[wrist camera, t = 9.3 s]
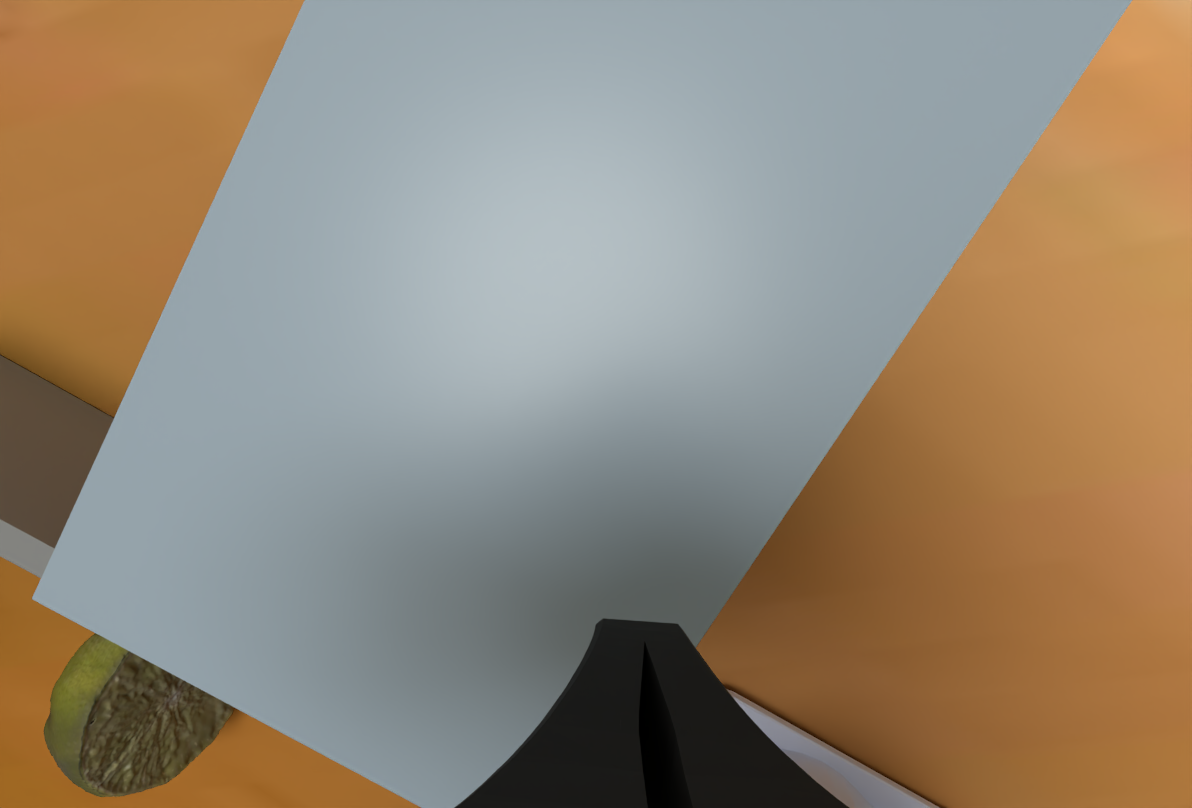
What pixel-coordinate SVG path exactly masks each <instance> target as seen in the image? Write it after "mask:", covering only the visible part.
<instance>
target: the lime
mask: <svg viewBox="0 0 1192 808" xmlns="http://www.w3.org/2000/svg"><path fill="white" fill-rule="evenodd" d="M50 702H51V708H50V715H49V717H48V719H47V721H46V724H45V727H44V737H45V741H46V744H47V747H48V749H49V750H50V753H51V755H52V756H53V757H54V760H55V761H56V762H57V765H58V767H59V768H61V770H62V772H63V773H64V774H65V776H67V777H68V778H69V779H70V780H71V781H72V782H73V783H74V784H76V785H77V786H78V787H81V788H82V789H84V790H85V791H86V792H89V793H91V794H94V795H96V796H99V797H106V796H107V797H112V796H115V797H116V796H124V795H129V794H132V793H136V792H142V791H144V790H146V789H150V788H154V787H156V786H159V785H163V784H166V783H167V782H169V781H170V780H171V779H172V778H174V777H176V776H177V775H178V774H180V772H181V771H183V770H184V769H185V768H186V767H187V766H188V764H189V763H190V762H192V761H193V760H194V759H195V758H196V757H197V756H198V755H199V754H200V753H201V752H202V751H203V750H204V749H205V748H206V747H207V746H209V745H210V744H211V743H212V742H213V741H214V739H215V738H216V736H217V735H218V734H219V731H220V729H221V728H222V727H223V726H224V724H225V722H226V721H227V720H228V719H229V717H230V716H231V714H232V713H233V708H234V707H233V706H231V705H229V704H227V703H225V702H223V701H222V700H220V699H218V698H216V697H214V696H212V695H210V694H208V693H207V692H205V691H203V690H201V689H199V688H197V687H195V686H193V685H192V684H190V683H188V682H186V681H184V680H182V679H180V678H179V677H177V676H175V675H173V674H171V673H169V672H167V671H165V670H164V669H162V668H160V667H158V666H156V665H154V664H152V663H150V662H149V661H147V660H145V659H143V658H141V657H139V656H137V655H136V654H134V653H132V652H130V651H128V650H126V649H124V648H122V647H121V646H119V645H117V644H115V643H113V642H111V641H109V640H108V639H106V638H104V637H102V636H100V635H98V634H96V633H95V634H94V635H92V636H91V637H90V638H89V639H88V640H87V641H85V642H84V644H83V645H82V646H81V647H80V648H79V649H78V650H77V652H76V653H75V654H74V656H73V657H72V658H71V660H70V661H69V662H68V664H67V666H66V667H65V669H64V671H63V673H62V675H61V676H60V678H59V679H58V680H57V682H56V684H55V686H54V688H53V691H52V695H51V700H50Z"/></svg>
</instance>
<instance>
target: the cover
mask: <svg viewBox="0 0 1192 808" xmlns="http://www.w3.org/2000/svg"><path fill="white" fill-rule="evenodd" d="M1131 1H1132V0H305V1H304V3H303V5H302V7H301V10H300V12H299V14H298V16H297V18H296V21H295V23H294V25H293V27H292V29H291V32H290V34H289V36H288V38H287V40H286V43H285V45H284V47H283V49H282V51H281V54H280V56H279V58H278V60H277V62H276V64H275V67H274V69H273V71H272V73H271V75H270V78H269V80H268V82H267V84H266V86H265V89H264V91H263V93H262V95H261V97H260V100H259V102H258V104H257V106H256V108H255V111H254V113H253V115H252V117H251V119H250V122H249V124H248V126H247V128H246V130H245V132H244V135H243V137H242V139H241V141H240V143H239V146H238V148H237V150H236V152H235V154H234V157H233V159H232V161H231V163H230V165H229V168H228V170H227V172H226V174H225V176H224V179H223V181H222V183H221V185H220V187H219V189H218V192H217V194H216V196H215V198H214V200H213V203H212V205H211V207H210V209H209V211H208V214H207V216H206V218H205V220H204V222H203V225H202V227H201V229H200V231H199V233H198V236H197V238H196V240H195V242H194V244H193V247H192V249H191V251H190V253H189V255H188V257H187V260H186V262H185V264H184V266H183V268H182V271H181V273H180V275H179V277H178V279H177V282H176V284H175V286H174V288H173V290H172V293H171V295H170V297H169V299H168V301H167V304H166V306H165V308H164V310H163V312H162V314H161V317H160V319H159V321H158V323H157V325H156V328H155V330H154V332H153V334H152V336H151V339H150V341H149V343H148V345H147V347H146V350H145V352H144V354H143V356H142V358H141V361H140V363H139V365H138V367H137V369H136V372H135V374H134V376H133V378H132V380H131V382H130V385H129V387H128V389H127V391H126V393H125V396H124V398H123V400H122V402H121V404H120V407H119V409H118V411H117V413H116V415H115V418H114V420H113V422H112V424H111V426H110V429H109V431H108V433H107V435H106V437H105V440H104V442H103V444H102V446H101V448H100V450H99V453H98V455H97V457H96V459H95V461H94V464H93V466H92V468H91V470H90V472H89V475H88V477H87V479H86V481H85V483H84V486H83V488H82V490H81V492H80V494H79V497H78V499H77V501H76V503H75V505H74V507H73V510H72V512H71V514H70V516H69V518H68V521H67V523H66V525H65V527H64V529H63V532H62V534H61V536H60V538H59V540H58V543H57V545H56V547H55V549H54V551H53V554H52V556H51V558H50V560H49V562H48V565H47V567H46V569H45V571H44V573H43V575H42V578H41V580H40V582H39V584H38V586H37V589H36V591H35V593H34V595H33V597H32V599H33V600H35V601H36V602H38V603H40V604H42V605H44V606H46V607H48V608H50V609H51V610H53V611H55V612H57V613H59V614H61V615H63V616H65V617H66V618H68V619H70V620H72V621H74V622H76V623H78V624H79V625H81V626H83V627H85V628H87V629H89V630H91V631H93V632H94V633H96V634H98V635H100V636H102V637H104V638H106V639H108V640H109V641H111V642H113V643H115V644H117V645H119V646H121V647H122V648H124V649H126V650H128V651H130V652H132V653H134V654H136V655H137V656H139V657H141V658H143V659H145V660H147V661H149V662H150V663H152V664H154V665H156V666H158V667H160V668H162V669H164V670H165V671H167V672H169V673H171V674H173V675H175V676H177V677H179V678H180V679H182V680H184V681H186V682H188V683H190V684H192V685H193V686H195V687H197V688H199V689H201V690H203V691H205V692H207V693H208V694H210V695H212V696H214V697H216V698H218V699H220V700H222V701H223V702H225V703H227V704H229V705H231V706H233V707H235V708H236V709H238V710H240V711H242V712H244V713H246V714H248V715H250V716H251V717H253V718H255V719H257V720H259V721H261V722H263V723H264V724H266V725H268V726H270V727H272V728H274V729H276V730H278V731H279V732H281V733H283V734H285V735H287V736H289V737H291V738H293V739H294V740H296V741H298V742H300V743H302V744H304V745H306V746H307V747H309V748H311V749H313V750H315V751H317V752H319V753H321V754H322V755H324V756H326V757H328V758H330V759H332V760H334V761H336V762H337V763H339V764H341V765H343V766H345V767H347V768H349V769H350V770H352V771H354V772H356V773H358V774H360V775H362V776H364V777H365V778H367V779H369V780H371V781H373V782H375V783H377V784H378V785H380V786H382V787H384V788H386V789H388V790H390V791H392V792H393V793H395V794H397V795H399V796H401V797H403V798H405V799H407V800H408V801H410V802H412V803H414V804H416V805H418V806H420V807H421V808H454V807H456V806H457V805H458V804H459V803H461V802H462V801H463V800H464V799H466V798H467V797H468V796H469V795H470V794H472V793H473V792H474V791H475V790H476V789H477V788H478V787H480V786H481V785H482V784H483V783H484V782H485V781H486V780H487V779H488V778H489V777H490V776H491V775H492V774H493V773H494V772H495V771H496V770H497V769H498V768H499V767H501V766H502V765H503V764H504V763H505V762H506V761H507V760H508V759H509V758H510V757H511V756H512V754H513V753H514V752H515V751H516V750H517V749H518V748H519V747H520V746H521V745H522V744H523V743H524V741H525V740H526V739H527V738H528V737H529V736H530V734H531V733H532V732H533V731H534V730H535V728H536V727H537V726H538V725H539V724H540V722H541V721H542V720H543V718H544V717H545V716H546V714H547V713H548V712H549V710H550V709H551V707H552V706H553V705H554V703H555V702H556V700H557V699H558V698H559V696H560V695H561V693H562V692H563V691H564V689H565V688H566V686H567V684H568V683H569V681H570V679H571V678H572V676H573V674H574V673H575V671H576V669H577V668H578V666H579V664H580V662H581V661H582V659H583V657H584V655H585V653H586V651H587V649H588V647H589V644H590V642H591V640H592V637H593V634H594V631H595V625H596V624H597V623H598V622H599V621H600V620H602V619H603V618H605V619H619V620H633V621H647V622H661V623H675V624H679V626H680V627H681V628H682V629H683V631H684V632H685V633H686V635H687V636H688V638H689V639H690V641H691V642H692V644H693V645H694V646H695V648H696V646H697V645H698V643H699V642H700V640H701V639H702V638H703V636H704V635H705V633H706V632H707V630H708V629H709V627H710V626H711V624H712V623H713V621H714V620H715V618H716V617H717V615H718V614H719V612H720V611H721V609H722V608H723V606H724V605H725V603H726V602H727V600H728V599H729V597H730V596H731V594H732V593H733V592H734V590H735V589H736V587H737V586H738V584H739V583H740V581H741V580H742V578H743V577H744V575H745V574H746V572H747V571H748V569H749V568H750V566H751V565H752V563H753V562H754V560H755V559H756V557H757V556H758V554H759V553H760V551H761V550H762V549H763V547H764V546H765V544H766V543H767V541H768V540H769V538H770V537H771V535H772V534H773V532H774V531H775V529H776V528H777V526H778V525H779V523H780V522H781V520H782V519H783V517H784V516H785V514H786V513H787V511H788V510H789V508H790V507H791V505H792V504H793V503H794V501H795V500H796V498H797V497H798V495H799V494H800V492H801V491H802V489H803V488H804V486H805V485H806V483H807V482H808V480H809V479H810V477H811V476H812V474H813V473H814V471H815V470H816V468H817V467H818V465H819V464H820V462H821V461H822V460H823V458H824V457H825V455H826V454H827V452H828V451H829V449H830V448H831V446H832V445H833V443H834V442H835V440H836V439H837V437H838V436H839V434H840V433H841V431H842V430H843V428H844V427H845V425H846V424H847V422H848V421H849V419H850V418H851V416H852V415H853V414H854V412H855V411H856V409H857V408H858V406H859V405H860V403H861V402H862V400H863V399H864V397H865V396H866V394H867V393H868V391H869V390H870V388H871V387H872V385H873V384H874V382H875V381H876V379H877V378H878V376H879V375H880V373H881V372H882V370H883V369H884V368H885V366H886V365H887V363H888V362H889V360H890V359H891V357H892V356H893V354H894V353H895V351H896V350H897V348H898V347H899V345H900V344H901V342H902V341H903V339H904V338H905V336H906V335H907V333H908V332H909V330H910V329H911V327H912V326H913V325H914V323H915V322H916V320H917V319H918V317H919V316H920V314H921V313H922V311H923V310H924V308H925V307H926V305H927V304H928V302H929V301H930V299H931V298H932V296H933V295H934V293H935V292H936V290H937V289H938V287H939V286H940V284H941V283H942V281H943V280H944V279H945V277H946V276H947V274H948V273H949V271H950V270H951V268H952V267H953V265H954V264H955V262H956V261H957V259H958V258H959V256H960V255H961V253H962V252H963V250H964V249H965V247H966V246H967V244H968V243H969V241H970V240H971V238H972V237H973V236H974V234H975V233H976V231H977V230H978V228H979V227H980V225H981V224H982V222H983V221H984V219H985V218H986V216H987V215H988V213H989V212H990V210H991V209H992V207H993V206H994V204H995V203H996V201H997V200H998V198H999V197H1000V195H1001V194H1002V192H1003V191H1004V190H1005V188H1006V187H1007V185H1008V184H1009V182H1010V181H1011V179H1012V178H1013V176H1014V175H1015V173H1016V172H1017V170H1018V169H1019V167H1020V166H1021V164H1022V163H1023V161H1024V160H1025V158H1026V157H1027V155H1028V154H1029V152H1030V151H1031V149H1032V148H1033V147H1034V145H1035V144H1036V142H1037V141H1038V139H1039V138H1040V136H1041V135H1042V133H1043V132H1044V130H1045V129H1046V127H1047V126H1048V124H1049V123H1050V121H1051V120H1052V118H1053V117H1054V115H1055V114H1056V112H1057V111H1058V109H1059V108H1060V106H1061V105H1062V103H1063V102H1064V101H1065V99H1066V98H1067V96H1068V95H1069V93H1070V92H1071V90H1072V89H1073V87H1074V86H1075V84H1076V83H1077V81H1078V80H1079V78H1080V77H1081V75H1082V74H1083V72H1084V71H1085V69H1086V68H1087V66H1088V65H1089V63H1090V62H1091V60H1092V59H1093V58H1094V56H1095V55H1096V53H1097V52H1098V50H1099V49H1100V47H1101V46H1102V44H1103V43H1104V41H1105V40H1106V38H1107V37H1108V35H1109V34H1110V32H1111V31H1112V29H1113V28H1114V26H1115V25H1116V23H1117V22H1118V20H1119V19H1120V17H1121V16H1122V14H1123V13H1124V12H1125V10H1126V9H1127V7H1128V6H1129V4H1130V3H1131Z"/></svg>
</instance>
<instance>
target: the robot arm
mask: <svg viewBox="0 0 1192 808" xmlns="http://www.w3.org/2000/svg"><path fill="white" fill-rule="evenodd" d="M454 808H939V807H938V806H936V805H934V804H932V803H931V802H929V801H927V800H925V799H924V798H922V797H920V796H918V795H916V794H915V793H913V792H911V791H909V790H908V789H906V788H904V787H902V786H900V785H899V784H897V783H895V782H893V781H892V780H890V779H888V778H886V777H884V776H883V775H881V774H879V773H877V772H876V771H874V770H872V769H870V768H868V767H867V766H865V765H863V764H861V763H860V762H858V761H856V760H854V759H852V758H851V757H849V756H847V755H845V754H844V753H842V752H840V751H838V750H836V749H835V748H833V747H831V746H829V745H828V744H826V743H824V742H822V741H820V740H819V739H817V738H815V737H813V736H812V735H810V734H808V733H806V732H804V731H803V730H801V729H799V728H797V727H796V726H794V725H792V724H790V723H788V722H787V721H785V720H783V719H781V718H780V717H778V716H776V715H774V714H772V713H771V712H769V711H767V710H765V709H764V708H762V707H760V706H758V705H756V704H755V703H753V702H751V701H749V700H748V699H746V698H744V697H742V696H740V695H739V694H737V693H735V692H733V691H731V690H728V689H726V688H725V687H724V686H723V684H722V683H721V682H720V681H719V679H718V678H717V677H716V675H715V674H714V673H713V672H712V670H711V669H710V667H709V666H708V665H707V663H706V662H705V661H704V659H703V658H702V656H701V655H700V654H699V652H698V651H697V649H696V648H695V646H694V645H693V644H692V642H691V641H690V639H689V638H688V636H687V635H686V633H685V632H684V631H683V629H682V628H681V627H680V626H679V624H675V623H661V622H647V621H633V620H619V619H605V618H603V619H602V620H600V621H599V622H598V623H597V624H596V625H595V631H594V634H593V637H592V640H591V642H590V644H589V647H588V649H587V651H586V653H585V655H584V657H583V659H582V661H581V662H580V664H579V666H578V668H577V669H576V671H575V673H574V674H573V676H572V678H571V679H570V681H569V683H568V684H567V686H566V688H565V689H564V691H563V692H562V693H561V695H560V696H559V698H558V699H557V700H556V702H555V703H554V705H553V706H552V707H551V709H550V710H549V712H548V713H547V714H546V716H545V717H544V718H543V720H542V721H541V722H540V724H539V725H538V726H537V727H536V728H535V730H534V731H533V732H532V733H531V734H530V736H529V737H528V738H527V739H526V740H525V741H524V743H523V744H522V745H521V746H520V747H519V748H518V749H517V750H516V751H515V752H514V753H513V754H512V756H511V757H510V758H509V759H508V760H507V761H506V762H505V763H504V764H503V765H502V766H501V767H499V768H498V769H497V770H496V771H495V772H494V773H493V774H492V775H491V776H490V777H489V778H488V779H487V780H486V781H485V782H484V783H483V784H482V785H481V786H480V787H478V788H477V789H476V790H475V791H474V792H473V793H472V794H470V795H469V796H468V797H467V798H466V799H464V800H463V801H462V802H461V803H459V804H458V805H457V806H456V807H454Z"/></svg>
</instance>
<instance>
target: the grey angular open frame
mask: <svg viewBox="0 0 1192 808" xmlns="http://www.w3.org/2000/svg"><path fill="white" fill-rule="evenodd" d="M113 420H114V418H112V417H111V416H109V415H107V414H105V413H103V412H102V411H100V410H98V409H96V408H94V407H93V406H91V405H89V404H87V403H85V402H84V401H82V400H80V399H78V398H76V397H75V396H73V395H71V394H69V393H67V392H66V391H64V390H62V389H60V388H58V387H57V386H55V385H53V384H51V383H49V382H48V381H46V380H44V379H42V378H40V377H39V376H37V375H35V374H33V373H31V372H30V371H28V370H26V369H24V368H22V367H21V366H19V365H17V364H15V363H13V362H12V361H10V360H8V359H6V358H4V357H3V356H1V355H0V556H1V557H3V558H4V559H6V560H8V561H10V562H12V563H14V564H16V565H18V566H19V567H21V568H23V569H25V570H27V571H29V572H31V573H32V574H34V575H36V576H38V577H40V578H42V575H43V573H44V571H45V569H46V567H47V565H48V562H49V560H50V558H51V556H52V554H53V551H54V549H55V547H56V545H57V543H58V540H59V538H60V536H61V534H62V532H63V529H64V527H65V525H66V523H67V521H68V518H69V516H70V514H71V512H72V510H73V507H74V505H75V503H76V501H77V499H78V497H79V494H80V492H81V490H82V488H83V486H84V483H85V481H86V479H87V477H88V475H89V472H90V470H91V468H92V466H93V464H94V461H95V459H96V457H97V455H98V453H99V450H100V448H101V446H102V444H103V442H104V440H105V437H106V435H107V433H108V431H109V429H110V426H111V424H112V422H113Z"/></svg>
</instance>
